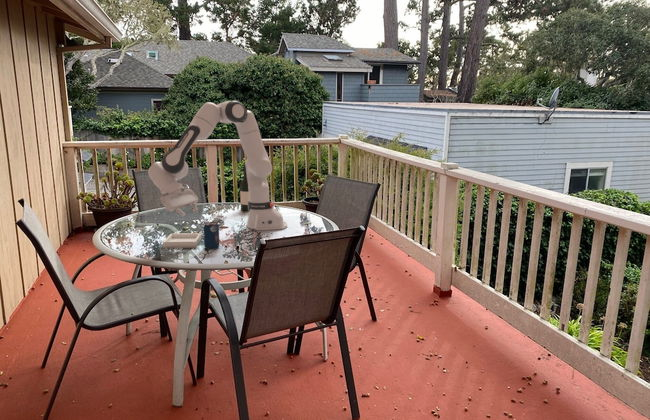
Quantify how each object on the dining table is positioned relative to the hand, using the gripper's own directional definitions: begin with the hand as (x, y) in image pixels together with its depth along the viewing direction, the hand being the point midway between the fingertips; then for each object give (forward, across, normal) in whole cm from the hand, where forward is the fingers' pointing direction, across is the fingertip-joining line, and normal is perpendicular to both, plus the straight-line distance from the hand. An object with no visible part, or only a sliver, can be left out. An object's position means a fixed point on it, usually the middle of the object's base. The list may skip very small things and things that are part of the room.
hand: (190, 213), depth 234 cm
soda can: (+19, 0, +3) cm, 19 cm away
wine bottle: (0, +78, +23) cm, 81 cm away
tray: (+7, 0, +15) cm, 17 cm away
